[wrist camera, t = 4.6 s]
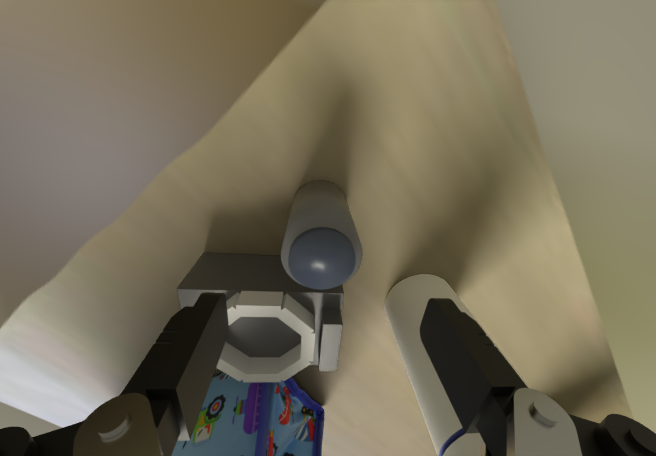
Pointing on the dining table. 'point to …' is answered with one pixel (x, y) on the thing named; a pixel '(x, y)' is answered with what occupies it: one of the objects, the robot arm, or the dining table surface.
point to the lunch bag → (255, 421)
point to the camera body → (268, 316)
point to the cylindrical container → (429, 362)
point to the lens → (320, 238)
